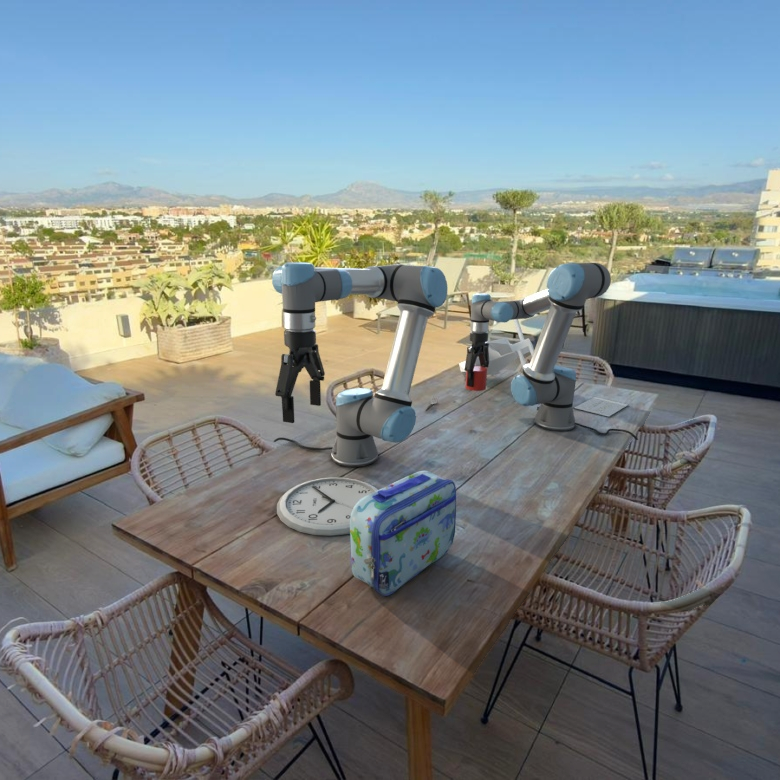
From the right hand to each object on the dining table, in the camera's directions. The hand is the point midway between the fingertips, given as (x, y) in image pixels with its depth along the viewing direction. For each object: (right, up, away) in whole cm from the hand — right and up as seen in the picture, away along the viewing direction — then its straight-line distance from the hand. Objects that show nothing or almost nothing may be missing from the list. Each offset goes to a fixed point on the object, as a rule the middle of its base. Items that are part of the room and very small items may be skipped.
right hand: (475, 384), depth 223 cm
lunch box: (-34, -43, -106) cm, 119 cm away
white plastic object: (+16, 0, +33) cm, 37 cm away
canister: (0, -2, +1) cm, 2 cm away
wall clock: (-52, -34, -80) cm, 102 cm away
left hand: (-59, -8, -92) cm, 109 cm away
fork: (-19, -10, 0) cm, 21 cm away
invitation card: (+55, -10, +3) cm, 56 cm away
